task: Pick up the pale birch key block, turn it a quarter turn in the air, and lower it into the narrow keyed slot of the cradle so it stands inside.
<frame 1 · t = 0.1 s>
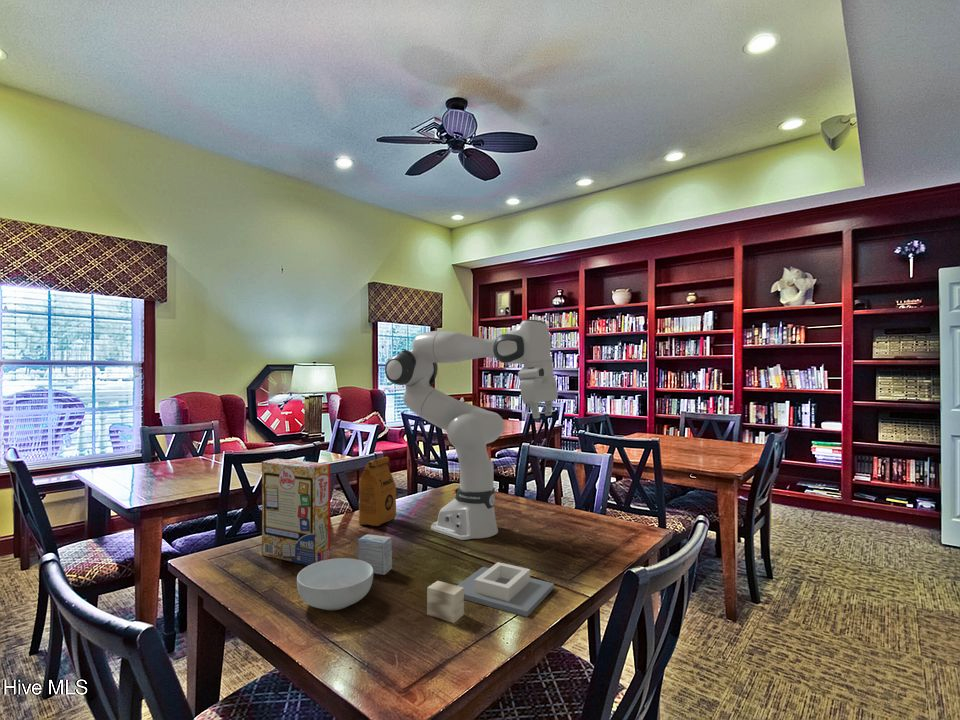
hand: (542, 416, 153), 39 cm above the table, tool pointing down, fingers open, 8 cm apart
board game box: (295, 558, 141), on the table
cradle: (502, 591, 121), on the table
coffee package: (378, 522, 173), on the table
cereal bowl: (335, 603, 116), on the table
medicine box: (375, 571, 133), on the table
key block: (445, 614, 110), on the table
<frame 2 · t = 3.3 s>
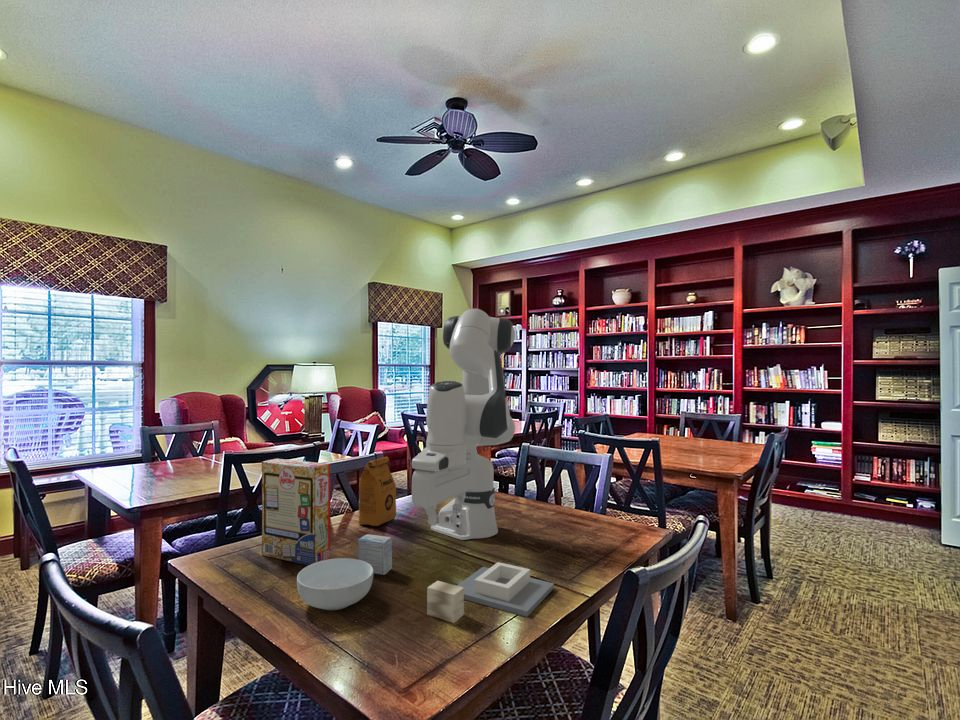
hand: (445, 518, 110), 21 cm above the table, tool pointing down, fingers open, 8 cm apart
nothing on the table moved.
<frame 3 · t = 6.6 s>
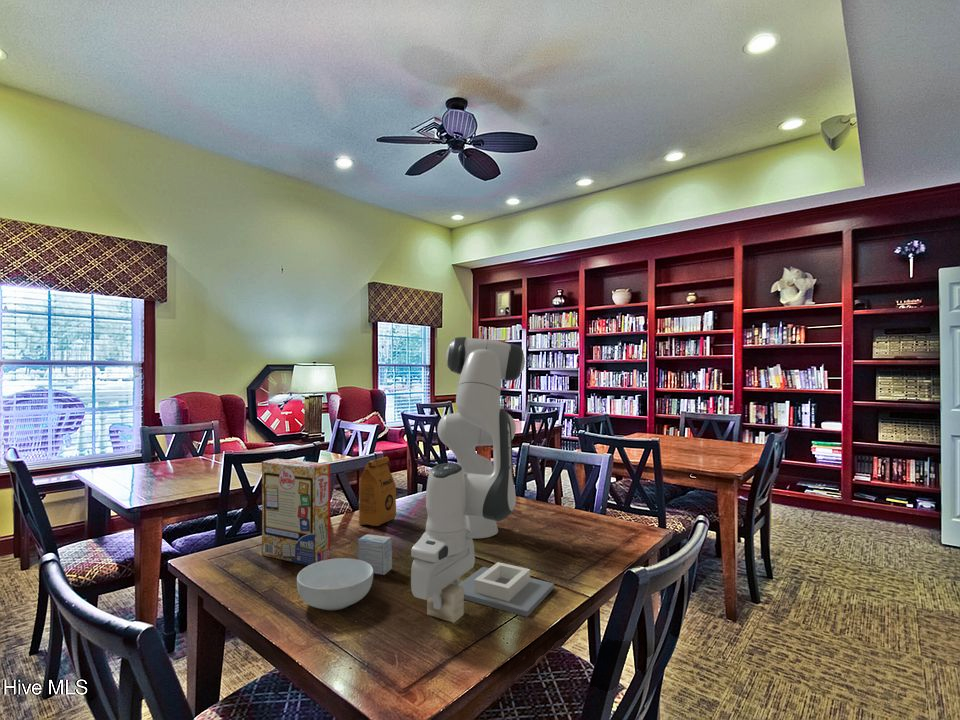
hand: (445, 602, 110), 3 cm above the table, tool pointing down, fingers closed on key block, 4 cm apart
key block: (445, 614, 110), on the table, touching gripper
everything else where it was.
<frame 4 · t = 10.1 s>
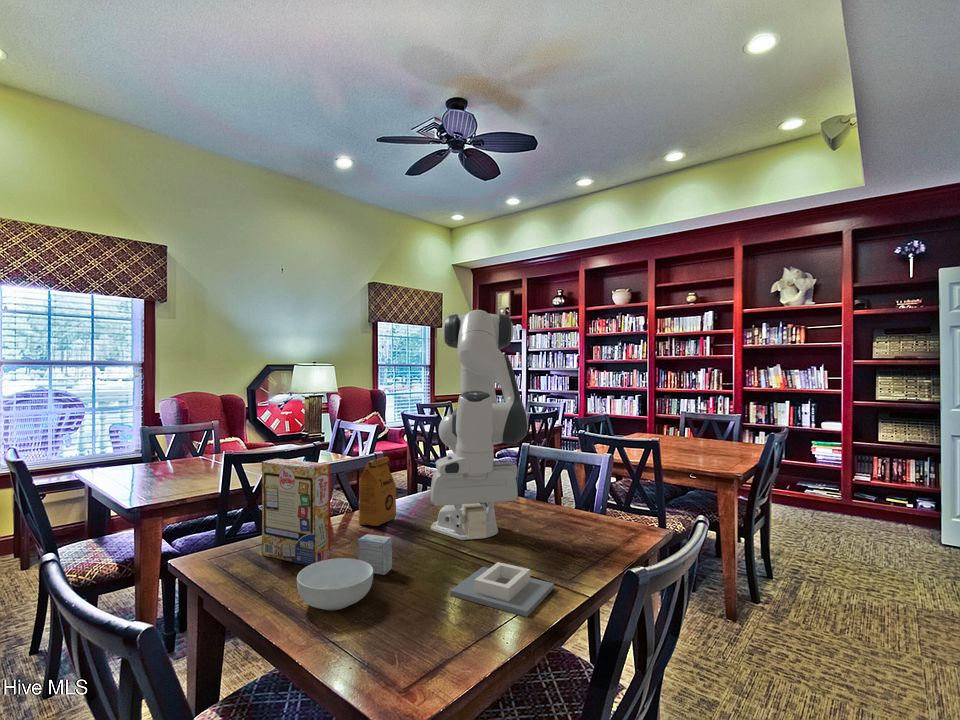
hand: (474, 521, 116), 19 cm above the table, tool pointing down, fingers closed on key block, 4 cm apart
key block: (473, 533, 116), point 16 cm above the table, touching gripper
everything else where it was.
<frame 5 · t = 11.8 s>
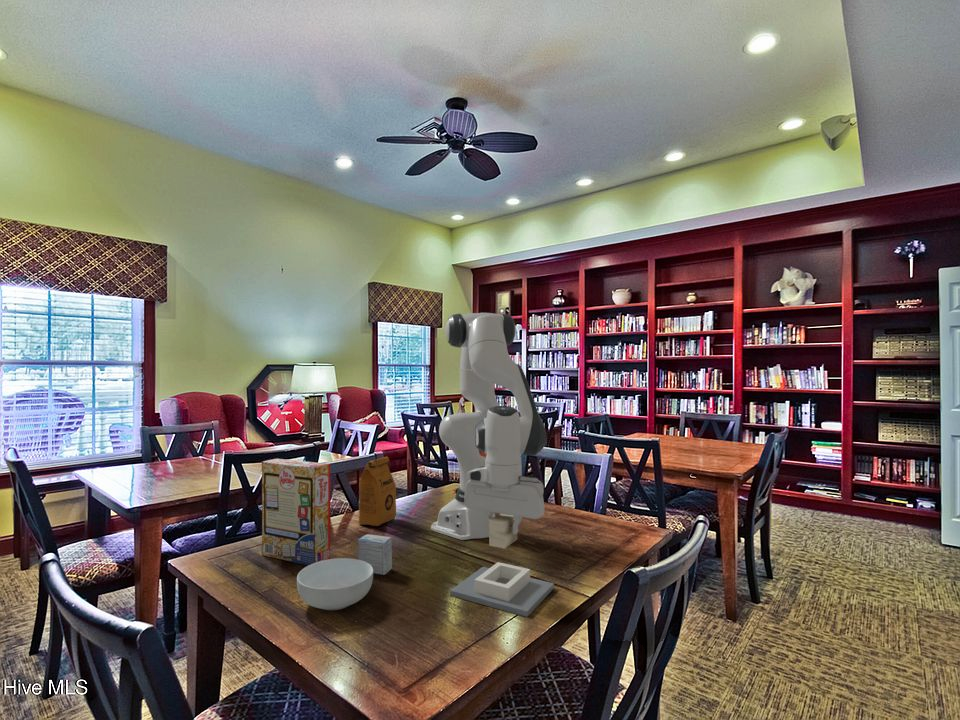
hand: (503, 531, 121), 15 cm above the table, tool pointing down, fingers closed on key block, 4 cm apart
key block: (503, 542, 121), point 12 cm above the table, touching gripper
everything else where it was.
when the fingers open (5 cm above the table, at t = 13.6 s): key block drops 1 cm, resting on cradle.
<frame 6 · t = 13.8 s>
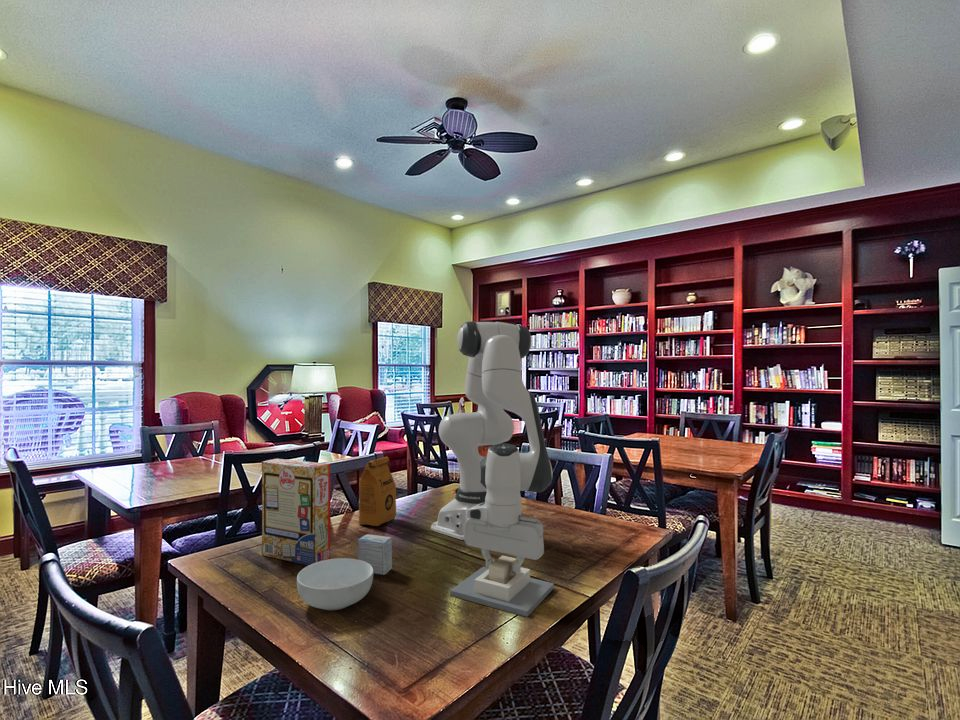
hand: (502, 569, 121), 5 cm above the table, tool pointing down, fingers open, 6 cm apart
key block: (502, 586, 121), point 1 cm above the table, touching cradle
everything else where it was.
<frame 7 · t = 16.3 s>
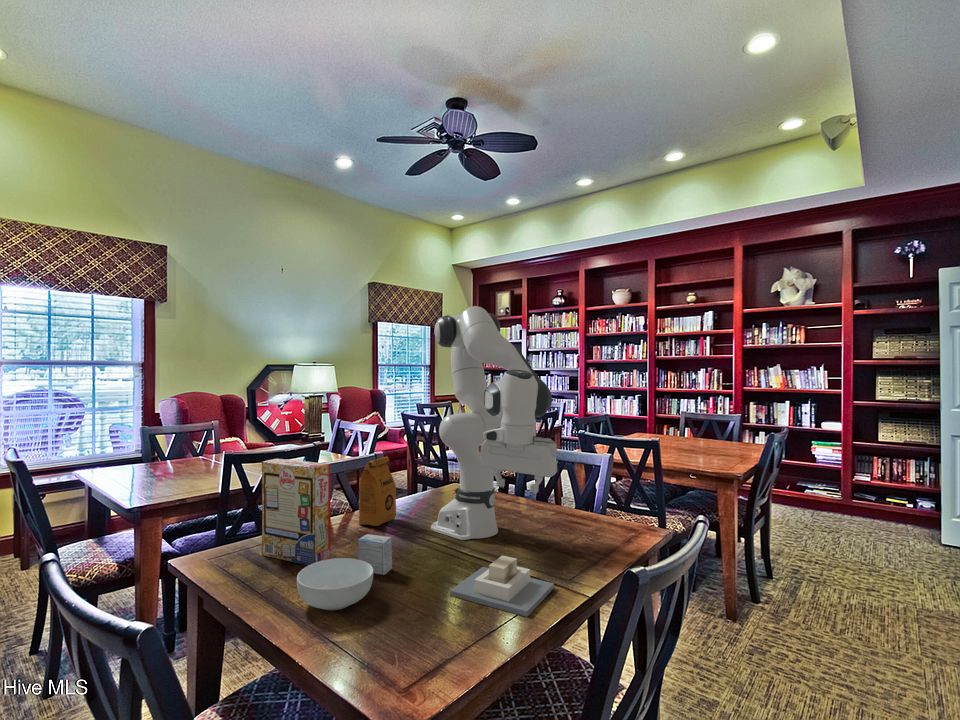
hand: (517, 489, 127), 23 cm above the table, tool pointing down, fingers open, 8 cm apart
nothing on the table moved.
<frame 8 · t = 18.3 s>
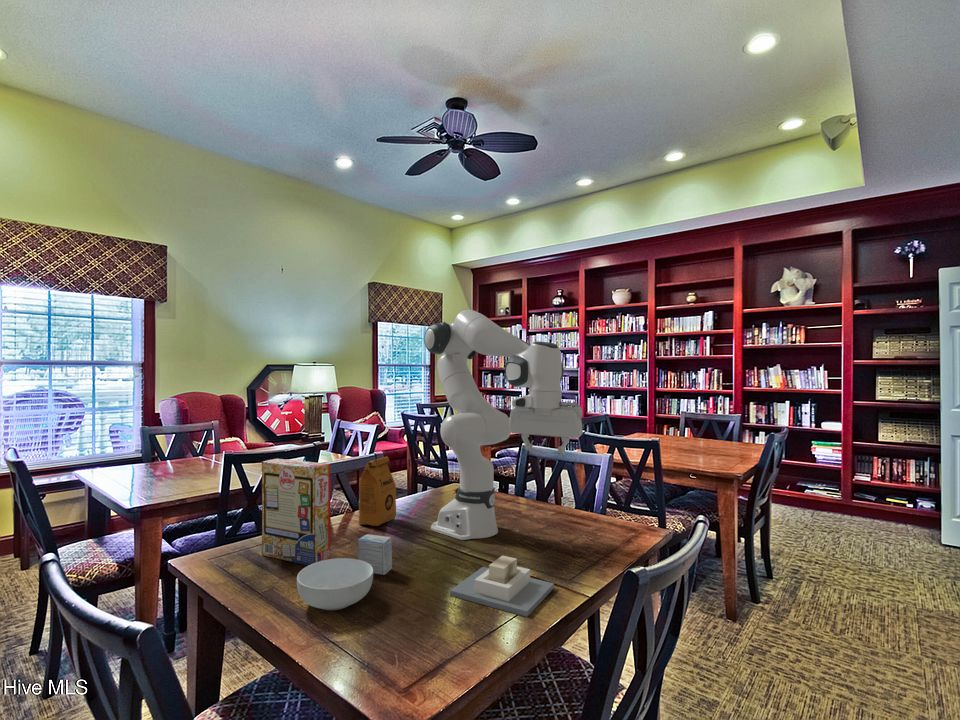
hand: (544, 452, 136), 31 cm above the table, tool pointing down, fingers open, 8 cm apart
nothing on the table moved.
at the end: key block 0.0 cm off-centre on the cradle, point 1.2 cm above the cradle's base; key block tilted 0°; the gripper is holding nothing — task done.
